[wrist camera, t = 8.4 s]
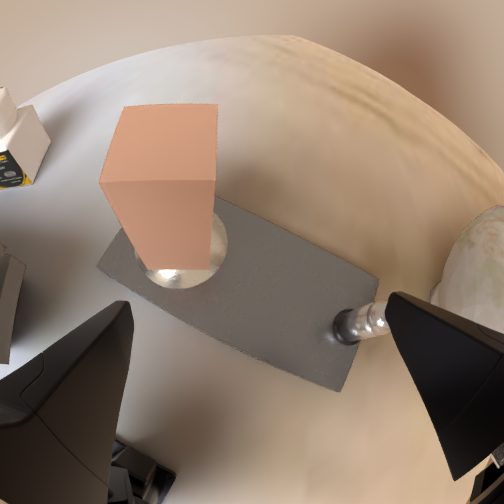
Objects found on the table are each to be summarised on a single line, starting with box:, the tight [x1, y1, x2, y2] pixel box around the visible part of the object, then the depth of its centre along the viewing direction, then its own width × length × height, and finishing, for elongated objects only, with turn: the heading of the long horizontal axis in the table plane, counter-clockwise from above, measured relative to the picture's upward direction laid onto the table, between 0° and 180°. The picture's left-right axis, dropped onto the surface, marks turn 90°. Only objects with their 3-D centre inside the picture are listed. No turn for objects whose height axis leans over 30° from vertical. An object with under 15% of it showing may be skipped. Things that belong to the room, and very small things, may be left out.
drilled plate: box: [96, 196, 379, 392], centre depth 22 cm, size 11×23×1 cm, turn 64°
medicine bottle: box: [0, 87, 51, 190], centre depth 19 cm, size 7×7×12 cm
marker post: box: [99, 104, 218, 270], centre depth 17 cm, size 5×5×12 cm
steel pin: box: [337, 300, 391, 341], centre depth 19 cm, size 2×2×6 cm
